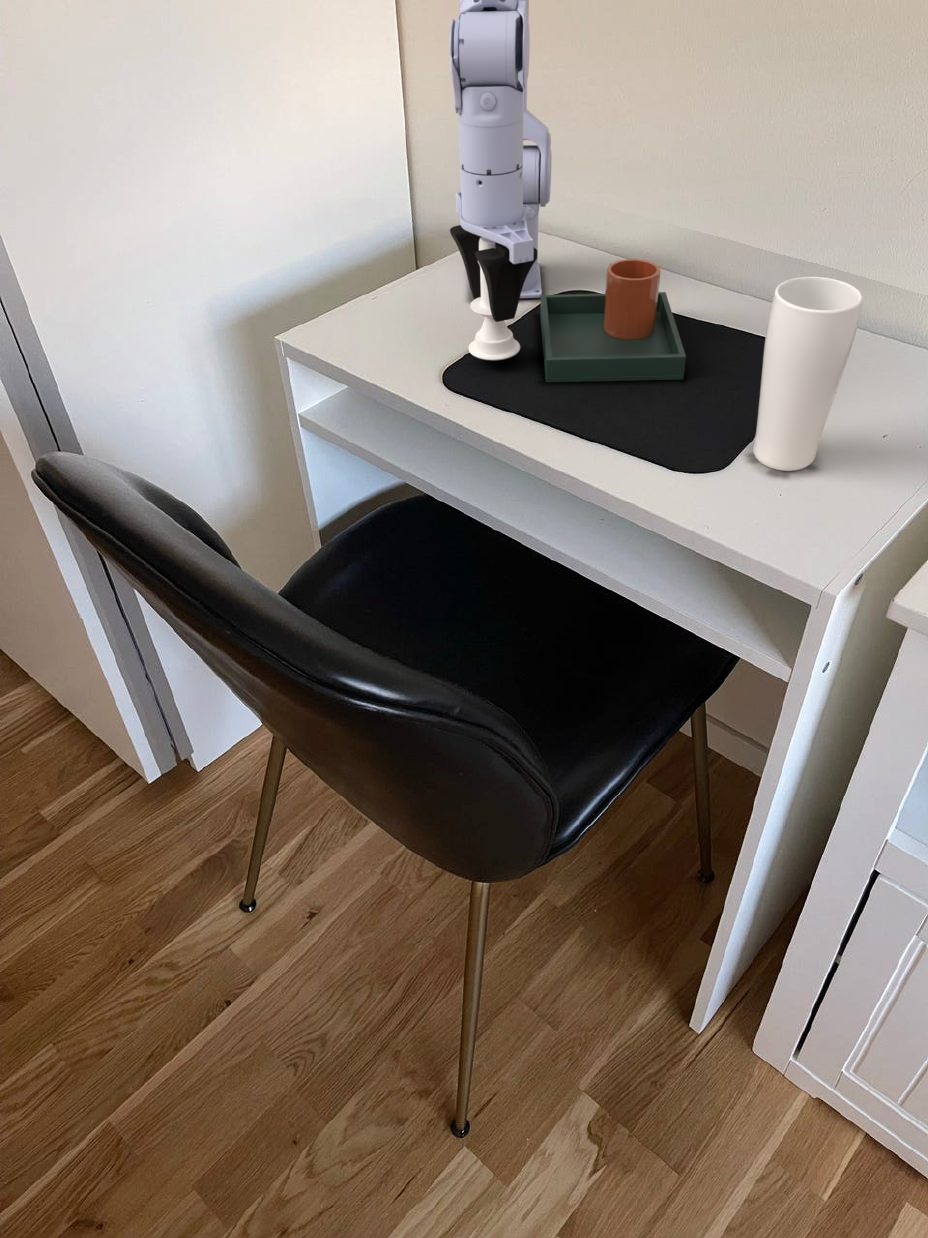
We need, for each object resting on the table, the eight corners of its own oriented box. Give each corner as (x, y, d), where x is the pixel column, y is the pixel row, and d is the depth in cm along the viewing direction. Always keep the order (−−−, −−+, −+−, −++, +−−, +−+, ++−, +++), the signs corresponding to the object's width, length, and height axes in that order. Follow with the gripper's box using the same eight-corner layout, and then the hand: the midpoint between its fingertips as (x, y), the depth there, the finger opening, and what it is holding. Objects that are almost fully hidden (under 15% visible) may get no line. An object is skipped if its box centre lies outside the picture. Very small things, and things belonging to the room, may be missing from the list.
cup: (601, 317, 106) (605, 259, 101) (650, 316, 105) (656, 258, 101) (605, 340, 102) (609, 280, 97) (657, 339, 101) (663, 279, 97)
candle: (474, 335, 102) (470, 220, 93) (524, 338, 101) (524, 222, 93) (463, 359, 98) (459, 241, 90) (515, 362, 97) (515, 243, 89)
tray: (540, 316, 108) (540, 294, 106) (663, 313, 107) (665, 291, 105) (545, 382, 96) (546, 359, 95) (683, 379, 96) (686, 356, 94)
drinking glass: (737, 437, 88) (766, 276, 78) (812, 436, 87) (851, 274, 77) (751, 479, 83) (784, 312, 73) (831, 478, 82) (875, 310, 72)
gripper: (566, 182, 83) (561, 330, 92) (501, 137, 93) (502, 274, 102) (491, 195, 81) (493, 344, 90) (432, 147, 91) (440, 286, 100)
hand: (493, 308), depth 96 cm, fingers closed on candle, 5 cm apart
